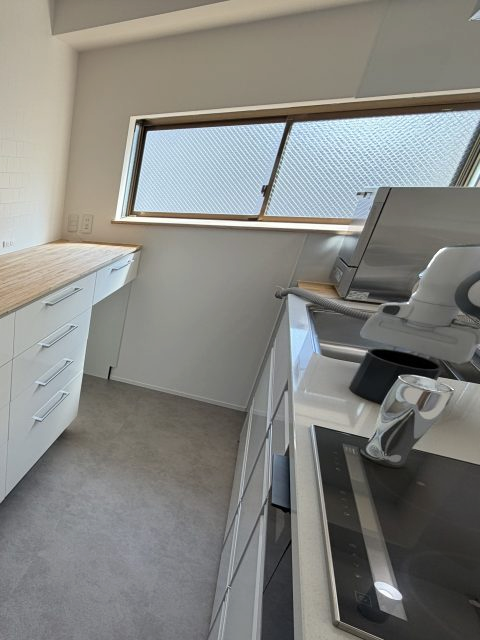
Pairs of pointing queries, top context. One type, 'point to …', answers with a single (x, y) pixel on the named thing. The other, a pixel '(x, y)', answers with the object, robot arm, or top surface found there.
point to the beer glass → (406, 418)
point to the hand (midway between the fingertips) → (399, 366)
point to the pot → (389, 372)
